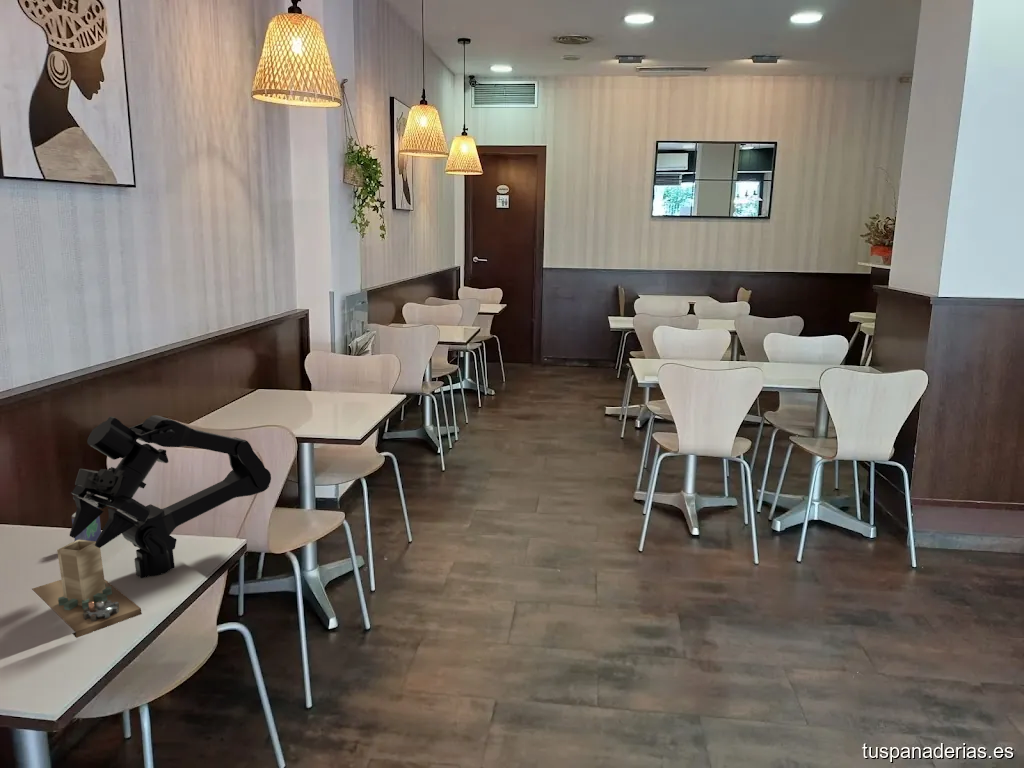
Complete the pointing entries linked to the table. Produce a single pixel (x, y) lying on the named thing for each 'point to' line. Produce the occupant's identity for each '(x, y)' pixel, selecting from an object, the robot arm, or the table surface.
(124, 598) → the gear board
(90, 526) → the flask
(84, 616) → the drive gear
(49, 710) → the table surface
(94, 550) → the open-ended square tube
